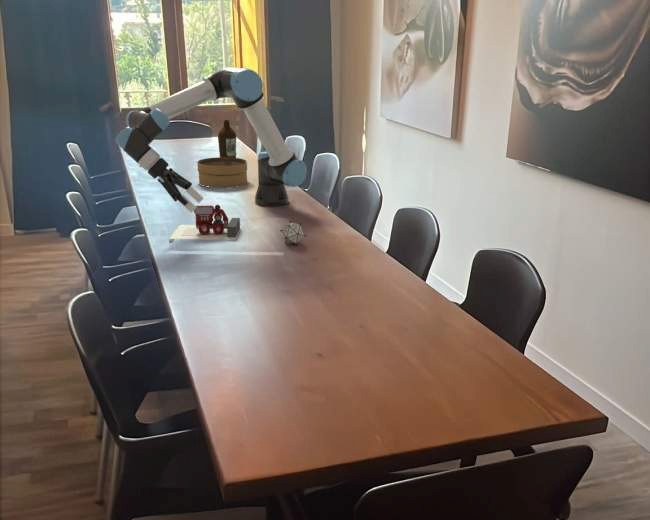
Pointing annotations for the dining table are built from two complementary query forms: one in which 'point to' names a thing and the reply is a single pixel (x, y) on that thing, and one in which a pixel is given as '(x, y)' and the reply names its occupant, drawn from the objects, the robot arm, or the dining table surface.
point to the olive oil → (227, 141)
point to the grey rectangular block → (233, 227)
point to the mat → (198, 234)
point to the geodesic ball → (293, 233)
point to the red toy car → (210, 219)
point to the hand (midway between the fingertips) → (197, 205)
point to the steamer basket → (222, 172)
